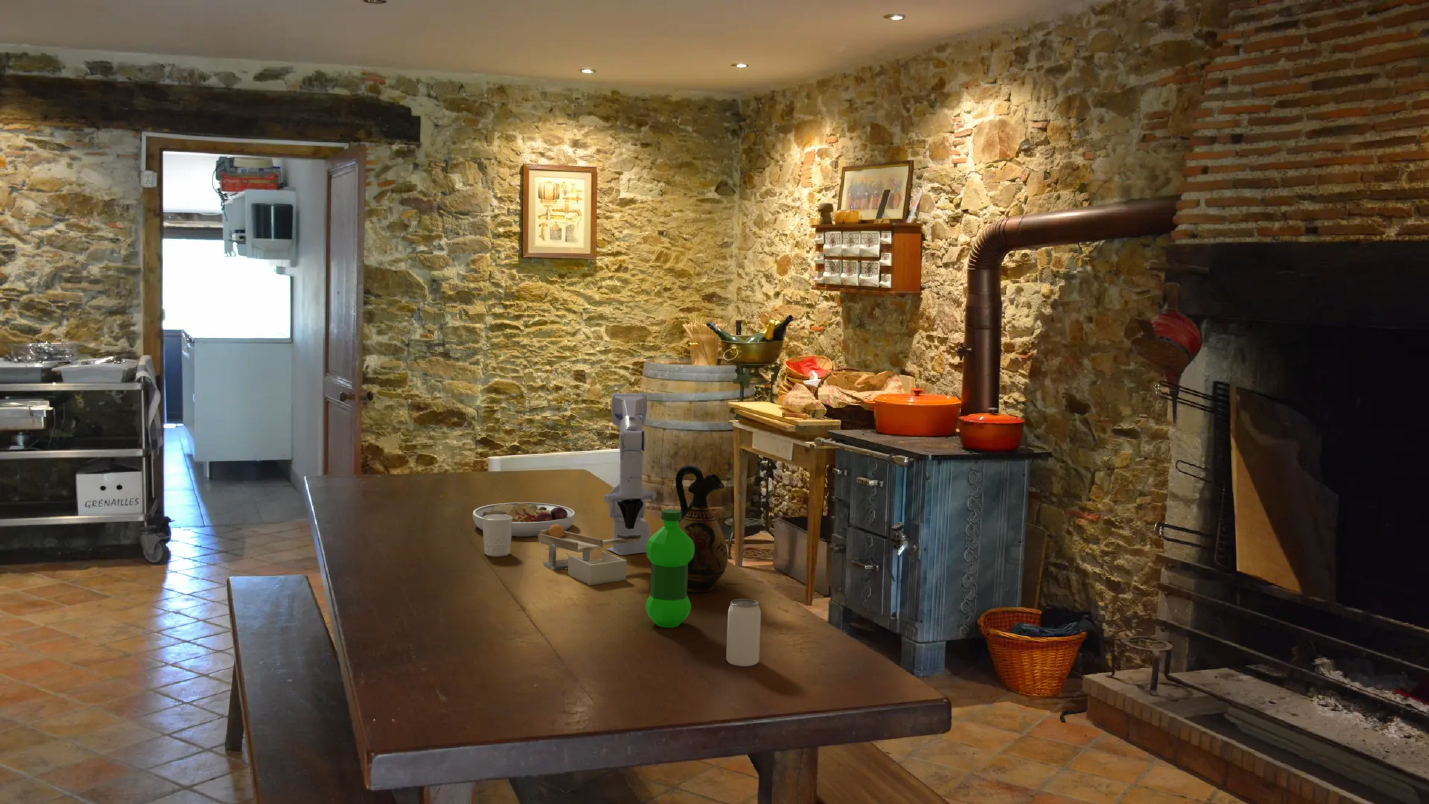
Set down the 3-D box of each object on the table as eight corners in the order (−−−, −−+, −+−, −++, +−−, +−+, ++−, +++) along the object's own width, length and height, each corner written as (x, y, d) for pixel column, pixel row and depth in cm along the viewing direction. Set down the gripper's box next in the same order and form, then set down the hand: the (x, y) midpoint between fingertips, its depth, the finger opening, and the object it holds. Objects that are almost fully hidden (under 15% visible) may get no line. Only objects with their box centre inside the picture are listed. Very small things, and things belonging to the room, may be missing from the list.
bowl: (452, 532, 326) (452, 505, 325) (508, 514, 354) (508, 489, 353) (541, 544, 315) (542, 516, 314) (592, 525, 343) (593, 499, 342)
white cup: (505, 558, 296) (505, 521, 295) (477, 555, 298) (478, 518, 297) (516, 551, 304) (517, 515, 303) (489, 549, 306) (489, 513, 305)
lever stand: (583, 560, 298) (584, 537, 297) (595, 565, 293) (595, 542, 292) (543, 565, 290) (543, 542, 290) (554, 570, 286) (554, 547, 285)
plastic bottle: (674, 634, 237) (678, 518, 235) (634, 624, 243) (638, 511, 240) (700, 623, 246) (704, 511, 243) (660, 614, 251) (664, 504, 249)
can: (724, 656, 224) (726, 597, 223) (756, 656, 225) (759, 598, 223) (727, 667, 218) (730, 607, 216) (760, 667, 218) (763, 607, 217)
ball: (560, 538, 299) (559, 523, 300) (567, 538, 296) (566, 523, 296) (546, 540, 297) (545, 525, 297) (553, 540, 294) (552, 524, 294)
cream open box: (602, 570, 288) (603, 551, 287) (625, 580, 279) (626, 560, 278) (567, 574, 282) (568, 555, 281) (590, 585, 273) (590, 565, 272)
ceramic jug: (734, 584, 279) (739, 465, 276) (714, 599, 265) (719, 474, 262) (671, 576, 285) (675, 459, 282) (648, 590, 270) (652, 468, 267)
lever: (600, 536, 308) (600, 523, 308) (641, 545, 291) (641, 532, 291) (538, 543, 297) (538, 530, 297) (577, 553, 280) (577, 539, 280)
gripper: (615, 480, 282) (613, 533, 283) (663, 477, 290) (661, 528, 292) (600, 476, 288) (599, 528, 289) (648, 472, 296) (646, 523, 297)
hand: (629, 528), depth 291 cm, fingers closed
